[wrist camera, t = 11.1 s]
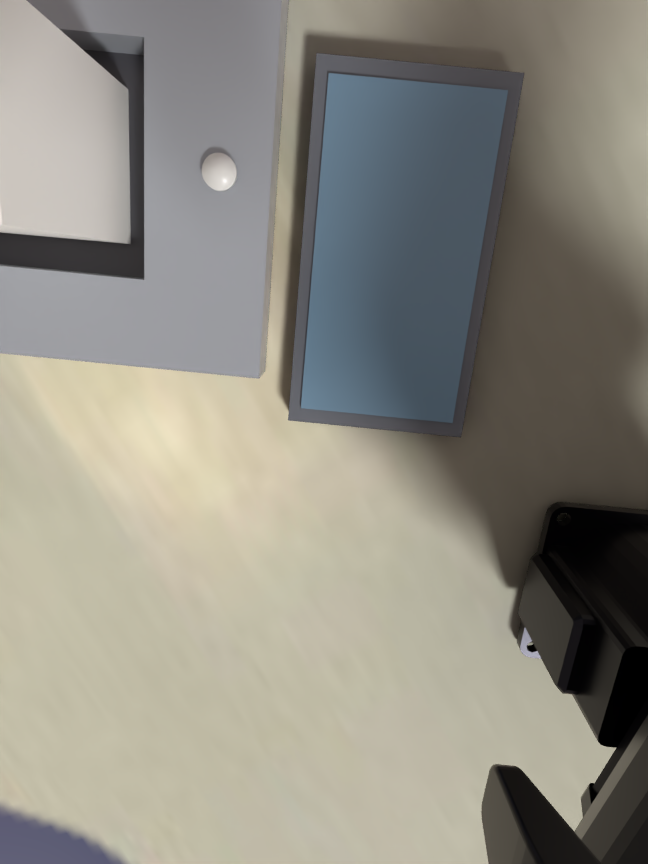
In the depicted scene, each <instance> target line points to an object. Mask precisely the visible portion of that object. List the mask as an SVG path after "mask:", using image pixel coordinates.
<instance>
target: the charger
mask: <svg viewBox="0 0 648 864" xmlns="http://www.w3.org/2000/svg"><path fill="white" fill-rule="evenodd" d="M0 233H11V234H22V235H34V236H45V237H56V238H67V239H79V240H90V241H101V242H112V243H123V244H131V227H130V163H129V99H128V89H127V88H126V87H125V86H124V85H122V84H121V83H120V82H119V81H118V80H117V79H116V78H115V77H113V76H112V75H111V74H110V73H109V72H108V71H107V70H105V69H104V68H103V67H102V66H101V65H100V64H99V63H97V62H96V61H95V60H94V59H93V58H92V57H91V56H89V55H88V54H87V53H86V52H85V51H84V50H83V49H81V48H80V47H79V46H78V45H77V44H76V43H75V42H73V41H72V40H71V39H70V38H69V37H68V36H67V35H65V34H64V33H63V32H62V31H61V30H60V29H59V28H57V27H56V26H55V25H54V24H53V23H52V22H51V21H49V20H48V19H47V18H46V17H45V16H44V15H43V14H41V13H40V12H39V11H38V10H37V9H36V8H35V7H33V6H32V5H31V4H30V3H29V2H28V1H27V0H0Z"/></svg>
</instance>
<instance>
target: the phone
mask: <svg viewBox="0 0 648 864" xmlns="http://www.w3.org/2000/svg"><path fill="white" fill-rule="evenodd" d="M523 77H524V73H519V72H509V71H498V70H488V69H477V68H467V67H457V66H446V65H436V64H425V63H415V62H405V61H394V60H384V59H373V58H363V57H353V56H342V55H332V54H321V53H317V55H316V67H315V80H314V93H313V106H312V119H311V132H310V145H309V158H308V171H307V184H306V197H305V210H304V223H303V236H302V249H301V262H300V275H299V288H298V301H297V313H296V326H295V339H294V352H293V365H292V378H291V391H290V404H289V417H288V420H290V421H301V422H311V423H321V424H331V425H341V426H351V427H362V428H372V429H382V430H392V431H402V432H413V433H423V434H433V435H443V436H453V437H461V435H462V429H463V423H464V418H465V412H466V406H467V400H468V394H469V389H470V383H471V377H472V371H473V366H474V360H475V354H476V348H477V343H478V337H479V331H480V325H481V320H482V314H483V308H484V302H485V296H486V291H487V285H488V279H489V273H490V268H491V262H492V256H493V250H494V245H495V239H496V233H497V227H498V221H499V216H500V210H501V204H502V198H503V193H504V187H505V181H506V175H507V170H508V164H509V158H510V152H511V147H512V141H513V135H514V129H515V123H516V118H517V112H518V106H519V100H520V95H521V89H522V83H523Z"/></svg>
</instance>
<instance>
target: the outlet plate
mask: <svg viewBox="0 0 648 864" xmlns="http://www.w3.org/2000/svg"><path fill="white" fill-rule="evenodd" d="M27 1H28V2H29V3H30V4H31V5H32V6H33V7H35V8H36V9H37V10H38V11H39V12H40V13H41V14H43V15H44V16H45V17H46V18H47V19H48V20H49V21H51V22H52V23H53V24H54V25H55V26H56V27H57V28H59V29H60V30H61V31H62V32H63V33H64V34H65V35H67V36H68V37H69V38H70V39H71V40H72V41H73V42H75V43H76V44H77V45H78V46H79V47H80V48H81V49H83V50H84V51H85V52H86V53H87V54H88V55H89V56H91V57H92V58H93V59H94V60H95V61H96V62H97V63H99V64H100V65H101V66H102V67H103V68H104V69H105V70H107V71H108V72H109V73H110V74H111V75H112V76H113V77H115V78H116V79H117V80H118V81H119V82H120V83H121V84H122V85H124V86H125V87H126V88H127V89H128V99H129V163H130V227H131V244H123V243H112V242H101V241H90V240H79V239H67V238H56V237H45V236H34V235H22V234H11V233H0V353H4V354H14V355H24V356H34V357H45V358H55V359H65V360H75V361H85V362H96V363H106V364H116V365H126V366H136V367H146V368H157V369H167V370H177V371H187V372H197V373H208V374H218V375H228V376H238V377H248V378H260V377H261V375H262V374H263V373H264V372H265V368H266V352H267V336H268V320H269V304H270V288H271V272H272V257H273V241H274V225H275V209H276V193H277V177H278V161H279V145H280V130H281V114H282V98H283V82H284V66H285V50H286V34H287V18H288V3H289V0H27Z"/></svg>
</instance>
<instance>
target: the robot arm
mask: <svg viewBox="0 0 648 864" xmlns="http://www.w3.org/2000/svg"><path fill="white" fill-rule="evenodd" d="M561 513H567V515H566V517H565V519H563V520H561V521H557V517H558V515H560V514H561ZM518 615H519V617H520V619H521V625H520V629H519V633H518V638H517V643H518V646H519V648H520V650H521V652H522V653H523V654H524V655H525V656H527V657H532V658H541V659H542V661H543V662H544V664H545V666H546V668H547V670H548V672H549V674H550V676H551V678H552V680H553V682H554V683H555V685H556V686H557V688H558V689H559V690H560V691H561V692H562V693H564V694H572V695H573V697H574V699H575V700H576V702H577V704H578V706H579V708H580V709H581V711H582V713H583V715H584V717H585V718H586V720H587V722H588V724H589V726H590V728H591V729H592V731H593V733H594V735H595V737H596V738H597V740H598V742H599V743H600V744H601V745H603V746H607V747H617V748H616V750H615V751H614V753H613V755H612V756H611V758H610V759H609V761H608V763H607V764H606V766H605V768H604V769H603V771H602V772H601V774H600V776H599V777H598V779H597V780H596V782H595V784H594V783H590V784H589V785H588V787H587V789H586V790H585V792H584V793H583V795H582V797H581V803H582V812H583V819H582V820H581V822H580V823H579V825H578V827H577V828H576V830H575V832H574V831H573V830H572V829H571V827H570V826H569V825H568V824H567V823H566V822H565V820H564V819H563V818H562V817H561V816H560V815H559V813H558V812H557V811H556V810H555V809H554V807H553V806H552V805H551V804H550V803H549V802H548V800H547V799H546V798H545V797H544V796H543V795H542V793H541V792H540V791H539V790H538V789H537V787H536V786H535V785H534V784H533V783H532V782H531V780H530V779H529V778H528V777H527V776H526V775H525V773H524V772H523V771H522V770H521V769H519V768H518V767H516V766H509V765H499V764H495V765H493V766H492V767H491V768H490V771H489V775H488V779H487V784H486V788H485V792H484V797H483V801H482V823H483V829H484V836H485V842H486V849H487V855H488V862H489V864H648V511H647V510H637V509H627V508H617V507H607V506H597V505H587V504H576V503H566V502H558V503H555V504H553V505H551V506H550V507H549V508H548V510H547V512H546V516H545V520H544V525H543V529H542V533H541V538H540V542H539V546H538V551H537V553H536V554H535V555H534V556H533V557H532V558H531V559H530V562H529V566H528V571H527V575H526V579H525V584H524V588H523V593H522V597H521V602H520V606H519V610H518ZM532 641H533V643H534V644H533V645H529V646H528V645H527V644H528V643H530V642H532Z"/></svg>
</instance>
